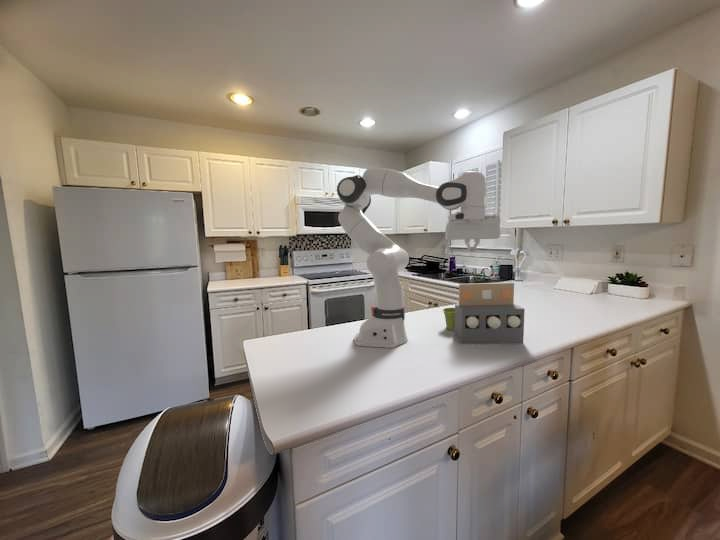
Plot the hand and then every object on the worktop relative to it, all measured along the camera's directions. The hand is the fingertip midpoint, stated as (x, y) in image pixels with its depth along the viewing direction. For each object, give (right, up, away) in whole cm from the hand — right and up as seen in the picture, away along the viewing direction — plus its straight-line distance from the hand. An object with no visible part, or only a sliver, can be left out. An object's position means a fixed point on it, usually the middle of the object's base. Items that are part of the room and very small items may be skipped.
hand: (471, 251), depth 115 cm
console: (+9, -36, +7) cm, 38 cm away
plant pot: (0, -35, +22) cm, 41 cm away
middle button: (+9, -30, +1) cm, 31 cm away
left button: (+1, -30, +3) cm, 30 cm away
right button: (+17, -30, +2) cm, 34 cm away
